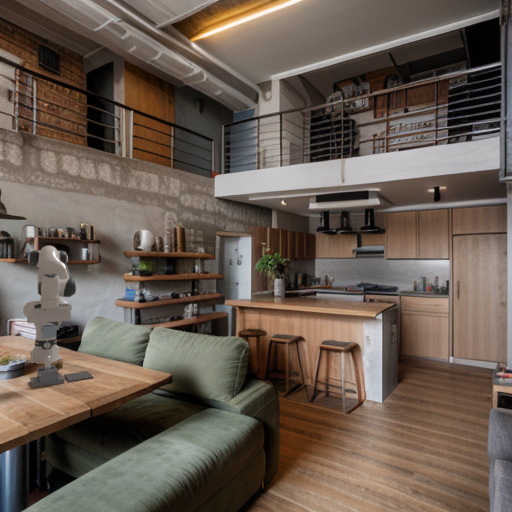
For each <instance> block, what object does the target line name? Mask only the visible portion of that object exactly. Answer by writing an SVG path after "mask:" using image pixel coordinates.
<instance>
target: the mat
mask: <svg viewBox="0 0 512 512" xmlns="http://www.w3.org/2000/svg"><path fill="white" fill-rule="evenodd" d="M64 376H65V377H64ZM63 377H64V379H65V380H66V381H67V380H68V381H67V382H68V383H73V381H74V382H79V380H80V381H85V379H86V380H91V379H90V378H92V379H94V376H93V375H92V374H91V372H90V371H88V370H83V371H78V372H71V373H65V374H63Z"/></svg>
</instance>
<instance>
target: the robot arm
mask: <svg viewBox="0 0 512 512" xmlns="http://www.w3.org/2000/svg"><path fill="white" fill-rule="evenodd" d="M27 261H28V264H29V266H30V267H34V268H37V267H38V273H37V287H36V289H37V294H38V295H39V296H41V297H40V300H33V301H29V302H26V303H25V305H24V306H23V308H22V313H23V316H25V318H26V323H28V324H34V328H35V339H34V347H33V348H32V350H30V354H29V355H30V357H29V359H28V361H27V364H29V363H31V364H33V363H36V364H35V365H42V364H43V363H45V356H51V362H58V361H61V360H62V357H61V356H60V347H59V346H58V345H57V341H58V340H57V336H56V337H55V338H45V339H43V338H42V331H43V327H42V325H54V323H55V322H57V323H58V324H57V325H56V326H57V331H58V330H60V327H61V325H62V322H68V321H69V322H70V321H71V320H72V313H71V312H72V310H73V309H72V308H73V307H72V305H71V304H69V302H68V301H66V300H65V299H64V298H71V297H72V296H74V295H75V294H76V292H77V285H76V281H75V280H74V278H73V276H72V274H71V271H70V270H69V267H68V266H67V265H68V261H69V256H68V254H67V252H66V251H64V250H58V249H57V248H56V247H55V246H52V245H45V246H43V247H42V248H41V249H40V250H37V249H36V250H31V251H30V252H29V254H28V256H27ZM60 277H61V278H62V279H60ZM62 297H64V298H62ZM53 322H54V323H53Z"/></svg>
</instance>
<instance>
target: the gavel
mask: <svg viewBox="0 0 512 512" xmlns="http://www.w3.org/2000/svg"><path fill="white" fill-rule="evenodd" d="M63 363H64V362H63V360H58V361H55V362H51V363H50V365H55V366H56V368H57V369H59V368H62V369H63ZM43 366H45V363H43V365H42V367H43Z"/></svg>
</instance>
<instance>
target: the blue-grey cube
mask: <svg viewBox="0 0 512 512" xmlns="http://www.w3.org/2000/svg"><path fill="white" fill-rule="evenodd" d="M53 324H54V323H53ZM57 326H58V325H56V324H54V325H42V327H43V331H42V338H43V339H45V338H55V337H56V338H57V331H58V330H57Z"/></svg>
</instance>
